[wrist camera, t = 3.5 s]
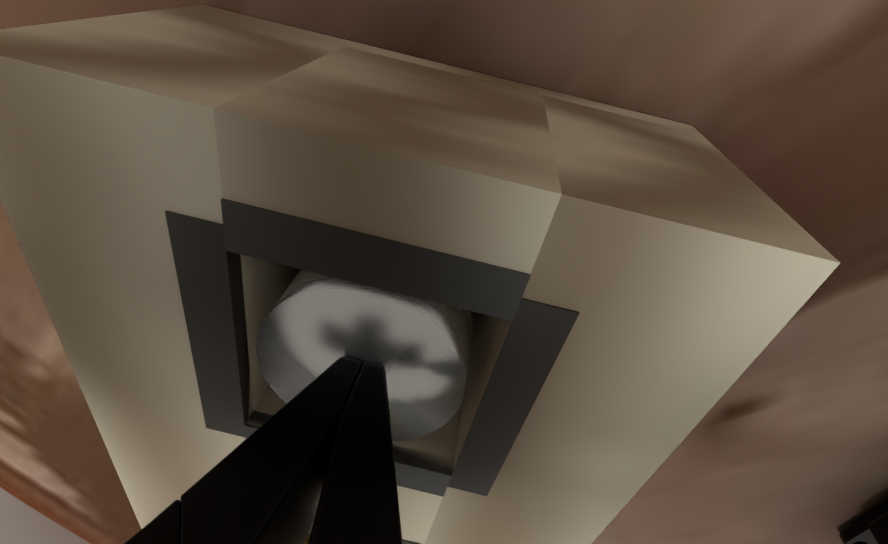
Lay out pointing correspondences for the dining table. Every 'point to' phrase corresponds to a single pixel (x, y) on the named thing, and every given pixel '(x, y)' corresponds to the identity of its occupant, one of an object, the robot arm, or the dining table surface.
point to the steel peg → (370, 346)
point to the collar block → (384, 255)
